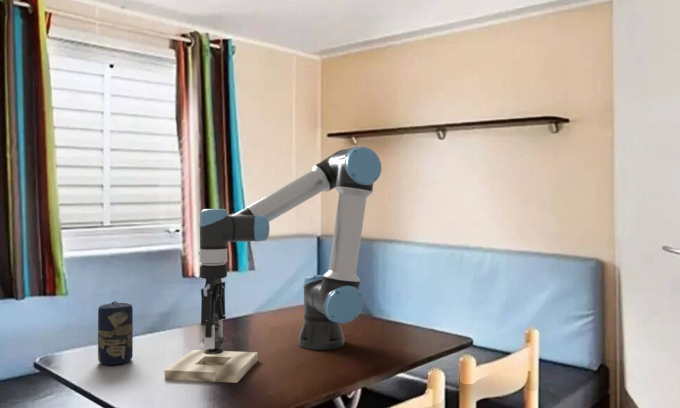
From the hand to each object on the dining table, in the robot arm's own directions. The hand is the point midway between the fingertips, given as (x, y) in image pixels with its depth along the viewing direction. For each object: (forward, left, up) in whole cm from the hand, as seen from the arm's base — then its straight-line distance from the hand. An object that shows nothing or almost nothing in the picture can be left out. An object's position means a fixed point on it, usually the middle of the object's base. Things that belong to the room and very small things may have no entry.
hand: (213, 345), depth 161 cm
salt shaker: (0, 0, -2) cm, 2 cm away
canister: (+31, -3, -7) cm, 32 cm away
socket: (0, 0, -7) cm, 7 cm away
